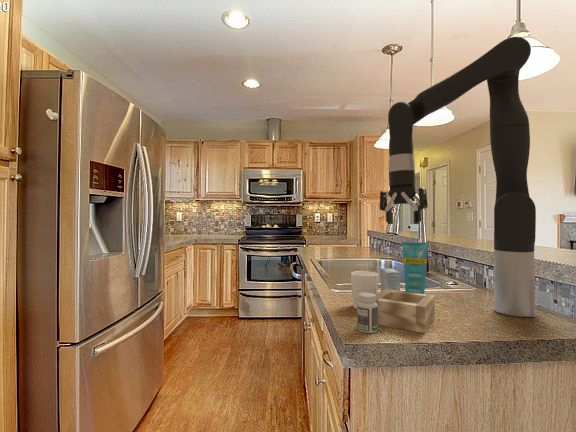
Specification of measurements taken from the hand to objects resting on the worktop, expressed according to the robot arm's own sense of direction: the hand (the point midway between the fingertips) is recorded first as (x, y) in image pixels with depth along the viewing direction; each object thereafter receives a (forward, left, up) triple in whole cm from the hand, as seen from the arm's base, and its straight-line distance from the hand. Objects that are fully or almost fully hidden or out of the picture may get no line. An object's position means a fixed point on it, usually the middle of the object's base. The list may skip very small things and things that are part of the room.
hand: (403, 223), depth 99 cm
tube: (-4, +2, -25) cm, 25 cm away
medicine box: (+6, -8, -25) cm, 27 cm away
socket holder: (-4, +16, -24) cm, 29 cm away
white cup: (+9, +10, -25) cm, 28 cm away
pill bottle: (+1, +28, -25) cm, 37 cm away
